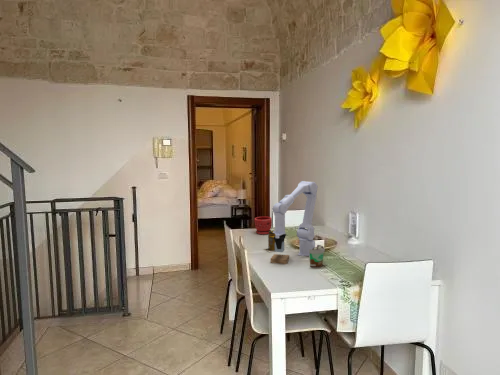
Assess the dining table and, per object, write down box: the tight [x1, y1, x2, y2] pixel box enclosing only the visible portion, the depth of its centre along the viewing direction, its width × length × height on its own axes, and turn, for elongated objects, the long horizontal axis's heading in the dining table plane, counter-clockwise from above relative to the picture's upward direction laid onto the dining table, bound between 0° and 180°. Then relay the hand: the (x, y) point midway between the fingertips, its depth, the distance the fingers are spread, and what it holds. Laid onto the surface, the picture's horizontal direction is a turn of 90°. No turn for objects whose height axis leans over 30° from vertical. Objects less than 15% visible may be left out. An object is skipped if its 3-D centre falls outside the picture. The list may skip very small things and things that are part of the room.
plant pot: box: [254, 216, 273, 236], centre depth 278 cm, size 13×13×12 cm
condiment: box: [263, 230, 275, 253], centre depth 231 cm, size 7×8×12 cm
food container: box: [309, 244, 326, 268], centre depth 199 cm, size 12×6×10 cm, turn 148°
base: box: [270, 253, 290, 265], centre depth 208 cm, size 9×9×2 cm
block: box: [274, 241, 285, 253], centre depth 207 cm, size 4×4×5 cm
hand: (280, 247), depth 207 cm, fingers closed on block, 5 cm apart
